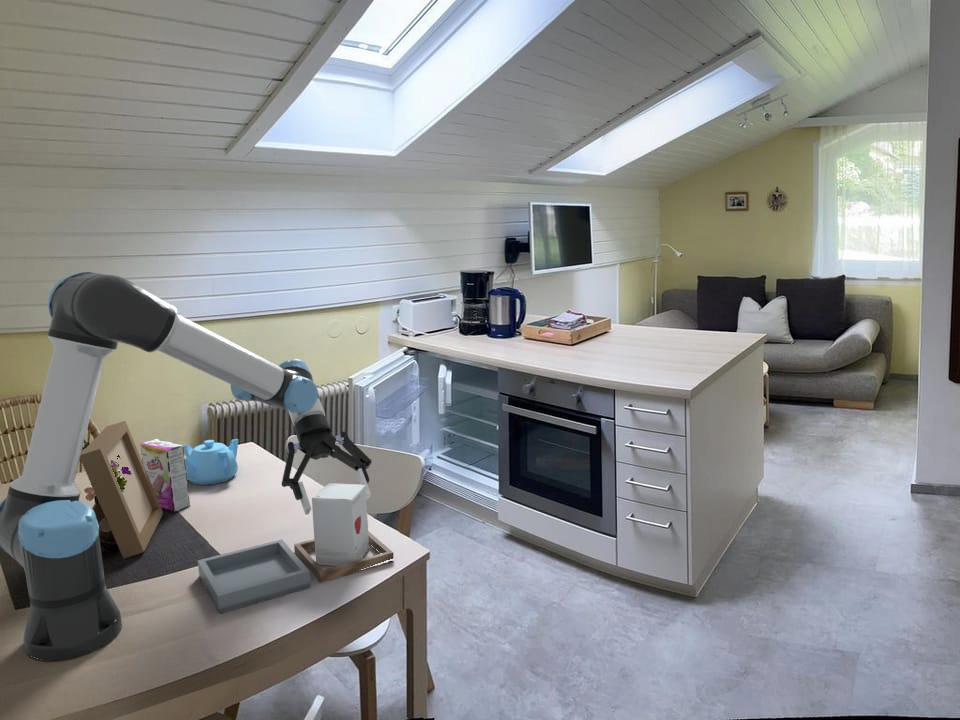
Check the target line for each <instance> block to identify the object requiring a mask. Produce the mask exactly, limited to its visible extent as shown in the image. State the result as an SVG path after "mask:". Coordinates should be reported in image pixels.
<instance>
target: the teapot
mask: <svg viewBox="0 0 960 720" xmlns="http://www.w3.org/2000/svg"><path fill="white" fill-rule="evenodd" d="M182 445H183V449H184V456H185V466H186V475H187V481H189V482H190V483H192V484H194V483H195V484H194V485H197V484H201V485H200V486H206V485H207V486H209V485H208V484H212V485H217V484H216V483H218V484H221V483H220V482H222V483H224V481H225V482H227V481H230V480H231V479H233V477H235V475H236V474H237V473H238V469H239V466H238V461H237V455H238V447H239V439H238V438H235V439H231V441H230V443H229V445H228V446H227V445H225V443H222V442H215V440H214V439H207V440H203V444H199V445H197V446H195V447H194V448H192V446H190V444H182ZM229 479H230V480H229Z"/></svg>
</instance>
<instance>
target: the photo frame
mask: <svg viewBox="0 0 960 720" xmlns="http://www.w3.org/2000/svg"><path fill="white" fill-rule="evenodd" d="M118 455H119V456H120V458H121V459H120V458H119V457H117V456H118ZM117 458H118V459H117ZM111 460H113V461H115V462H117V463H118V464H119V466H120V475H121V476H123V477H124V478H126V479H127V483H126V485H125V490H124V492H122V491H121V489H120V486H119V484H118V482H117V479H116V477H115V474H114V472H113V470H112V467H111V465H110V463H109V462H110V461H111ZM79 461H80V462H81V464H82V466H83V469H84V471H85V473H86V476H87V478H88V481H89V482H90V484H91V487H92V489H93V491H94V495H95V496H96V500H97V499H98V502H99V503H98V504H96V501H95V502H94V504H93V506H92V507H91V508H92V509H93V510H94V512H95V515H96V519H97V521H98V525H99V523H100V521H101V519H102V518H103V515H105V516H104V518H105V520H106V522H107V524H108V527H109V529H110V531H111V533H112V535H113V538H114V540H115V542H116V544H117V547H118V549H119V552H120V554H121V556H122V559H123V558H124V559H126V558H125V557H127V558H130V557H132V556H136V555H139V554H142V553H144V552H145V550H146V549H147V547H148V545H149V543H150V540H151V538H152V537H153V535H154V532H155V530H156V528H157V527H158V525H159V523H160V521H161V518H162V517H163V515H164V511H163V508H161V506H160V504H159V501H158V499H157V496H156V494H155V491H154V489H153V487H152V484H151V482H150V479H149V477H148V474H147V472H146V470H145V467H144V465H143V461H142V457H141V454H140V453H139V450H138V448H137V446H136V443H135V442H134V438H133V436H132V434H131V431H130V428H129V426H128V424H127V422H126V420H123V421H120V422H116V423H114V424H111V425H107V426H106V427H104V429H102V431H101V432H100V433H99V434H98V435H97V436H96V437H95V438H94V439H93V440H92V441H91V442H90V443H89V445H87V446H86V447H85V448H84V449H83V450H82V452H81V456H80V460H79ZM122 467H128V468H129V469H130V471H131V472H132V474H131V475H127V474H123V473H122V471H121V469H122Z"/></svg>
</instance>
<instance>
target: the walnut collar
mask: <svg viewBox="0 0 960 720" xmlns="http://www.w3.org/2000/svg"><path fill="white" fill-rule="evenodd" d="M368 538H369V544H370V545H372V546H373V547H374V548H375V549H377V550H378V551H379V552H380V553H382V554H379V553H377V554H375V555H371V556H367V557H363V558H362V559H360V560H357V561H353V562H349V563H346V564H342V565H339V566H331V567H329V568H326V569H323V568H322V567H321V565H318V564H317V563H316V560H315V559H313V557H312V556H311V555H310V554H309V552H311V551H315V541H314V538H313V539H307V540H305V541H301V542H297V543H294V544H293V546H294V547H293V548H294V554H295V555H296V556H297V557H298V558H299V559H300V561H301V562H302V563H303V564H304V565H305V566H306V567H307V569H308V570H309V572H311V573H312V574H313V576H314V577H315V578H316V579H317V580H318V582H320V583H324V582H327V581H331V580H335V579H338V578H341V577H340V576H342V577H344V575H345V576H348V575H352V574H354V573H353V572H355V573H357V572H356V571H359V570H361V569H364V568H367V567H370V566H373V565H375V564H378V563H381V562H384V561H386V560H390V559H393V558H394V555H395V554H394V551H393V550H391V549H390V548H388V547H387V546H386V545H385V544H384V543H383V542H382V541H381V540H379V538H378V537H376V536H375V535H374V534H372V532H370V531H369V530H368ZM370 545H369V546H370ZM373 547H372V548H373ZM374 548H373V549H374ZM375 549H374V550H375ZM394 559H395V558H394ZM359 572H360V571H359ZM351 573H352V574H351ZM347 574H348V575H347Z"/></svg>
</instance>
